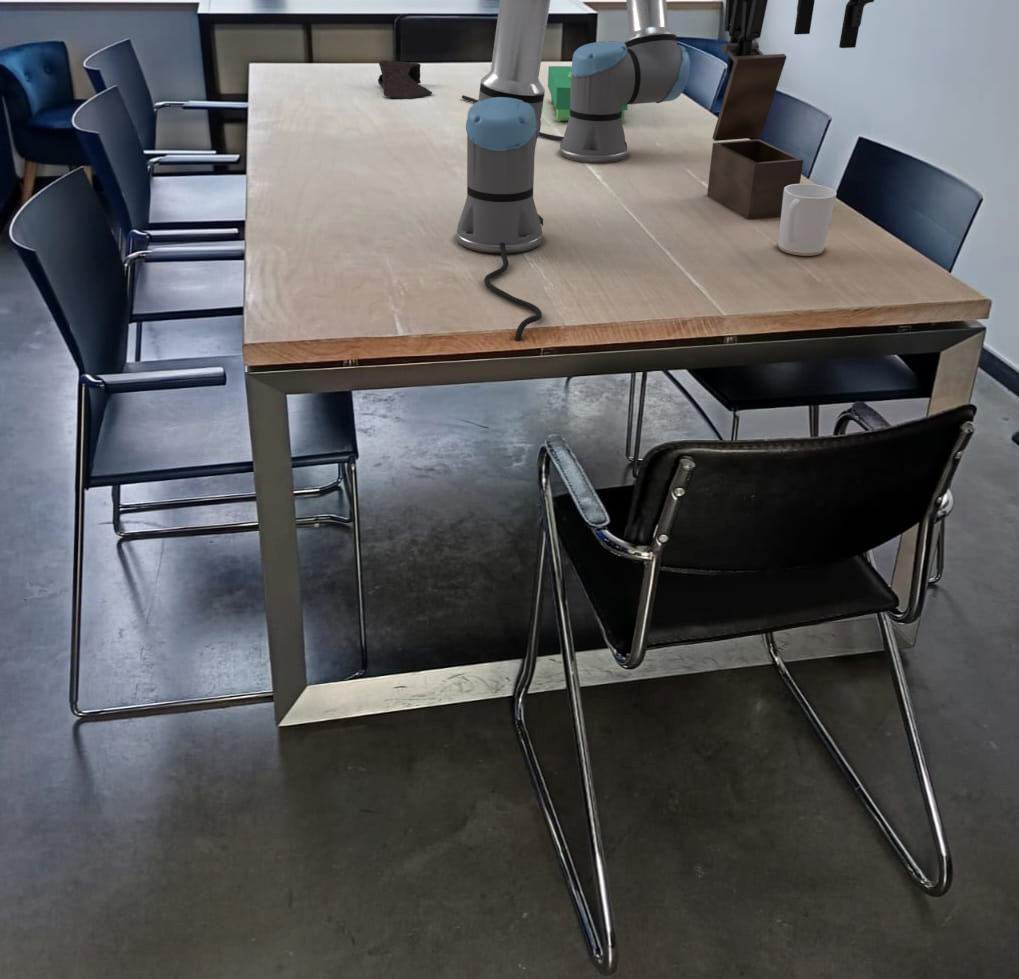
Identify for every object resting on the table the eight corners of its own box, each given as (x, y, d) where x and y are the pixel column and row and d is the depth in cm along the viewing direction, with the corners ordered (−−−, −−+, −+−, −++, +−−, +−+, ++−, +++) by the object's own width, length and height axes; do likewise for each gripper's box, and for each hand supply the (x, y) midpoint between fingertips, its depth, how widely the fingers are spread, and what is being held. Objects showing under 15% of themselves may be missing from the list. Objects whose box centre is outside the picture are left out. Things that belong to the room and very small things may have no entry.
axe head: (443, 87, 294) (392, 77, 287) (436, 115, 299) (385, 106, 292) (421, 62, 307) (371, 52, 300) (414, 89, 311) (365, 80, 304)
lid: (786, 56, 206) (764, 33, 212) (738, 59, 203) (717, 35, 209) (760, 137, 219) (740, 113, 225) (714, 141, 216) (695, 116, 222)
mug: (789, 236, 200) (798, 180, 195) (834, 247, 195) (845, 190, 190) (760, 251, 193) (769, 193, 188) (807, 263, 188) (817, 204, 183)
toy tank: (612, 47, 295) (630, 72, 266) (608, 94, 302) (626, 124, 272) (547, 45, 295) (557, 71, 265) (545, 93, 301) (555, 123, 271)
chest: (795, 214, 212) (803, 159, 207) (747, 219, 209) (755, 164, 204) (752, 191, 225) (759, 139, 220) (706, 195, 222) (712, 142, 217)
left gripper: (915, -95, 167) (887, 52, 178) (822, -105, 187) (802, 27, 198) (873, -95, 165) (848, 54, 176) (784, -106, 185) (766, 29, 196)
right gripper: (793, -57, 197) (774, 80, 209) (750, -65, 209) (734, 65, 221) (757, -56, 195) (739, 82, 207) (715, -64, 207) (701, 67, 219)
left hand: (823, 40), depth 187 cm, fingers open, 13 cm apart
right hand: (737, 73), depth 214 cm, fingers closed on lid, 2 cm apart
